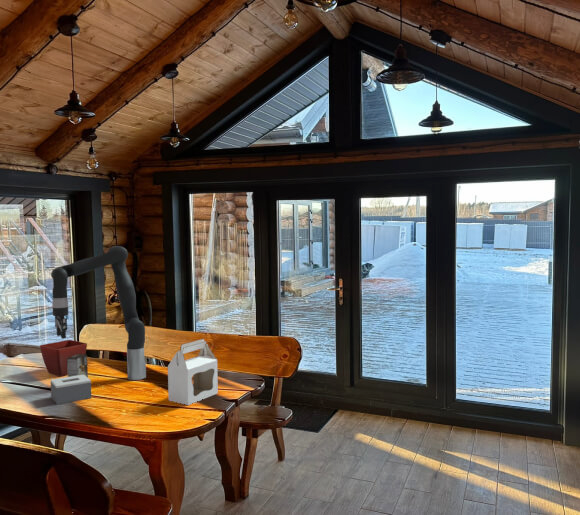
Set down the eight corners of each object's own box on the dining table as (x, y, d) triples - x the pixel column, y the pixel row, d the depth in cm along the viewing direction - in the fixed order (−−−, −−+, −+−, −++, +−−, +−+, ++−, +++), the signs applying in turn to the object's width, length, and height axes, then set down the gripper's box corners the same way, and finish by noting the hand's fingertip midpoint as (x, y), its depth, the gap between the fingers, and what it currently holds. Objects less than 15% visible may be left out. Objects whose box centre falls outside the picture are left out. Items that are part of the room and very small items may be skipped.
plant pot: (70, 366, 325) (69, 339, 324) (88, 371, 313) (87, 343, 312) (40, 373, 309) (39, 345, 308) (58, 379, 298) (57, 349, 297)
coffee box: (77, 382, 291) (77, 353, 290) (88, 383, 290) (87, 354, 289) (67, 387, 282) (66, 358, 281) (78, 388, 281) (77, 358, 280)
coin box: (84, 391, 276) (83, 374, 275) (91, 398, 265) (90, 380, 265) (51, 397, 267) (50, 379, 266) (57, 404, 256) (56, 386, 255)
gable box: (187, 405, 254) (186, 347, 252) (167, 400, 261) (166, 344, 259) (218, 393, 272) (217, 339, 270) (199, 389, 279) (198, 336, 278)
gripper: (71, 307, 273) (72, 338, 274) (64, 303, 284) (65, 333, 286) (56, 308, 269) (57, 340, 270) (49, 305, 280) (50, 335, 281)
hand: (61, 337), depth 278 cm, fingers open, 8 cm apart
